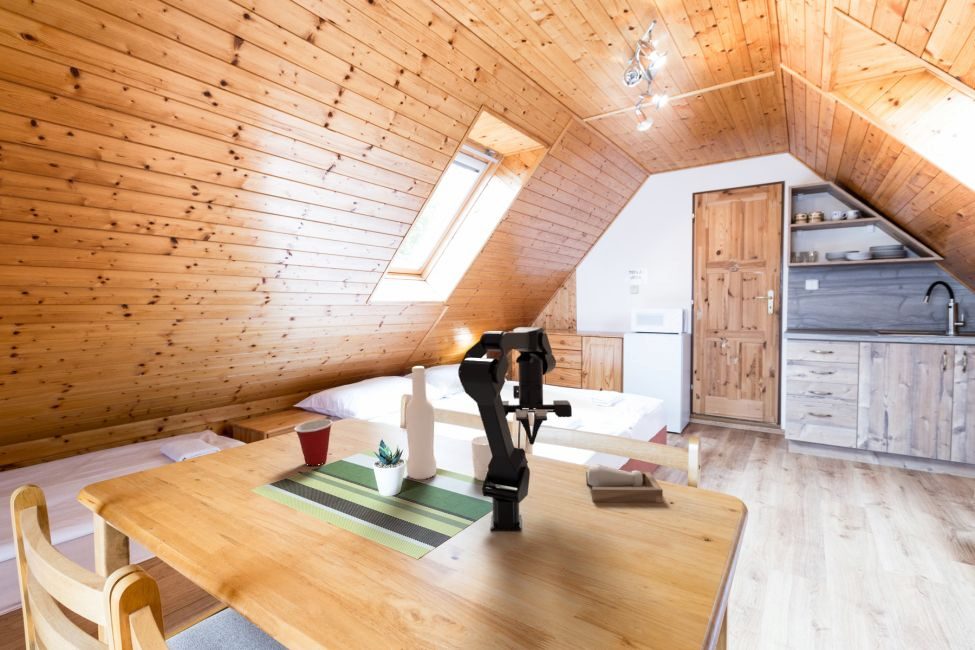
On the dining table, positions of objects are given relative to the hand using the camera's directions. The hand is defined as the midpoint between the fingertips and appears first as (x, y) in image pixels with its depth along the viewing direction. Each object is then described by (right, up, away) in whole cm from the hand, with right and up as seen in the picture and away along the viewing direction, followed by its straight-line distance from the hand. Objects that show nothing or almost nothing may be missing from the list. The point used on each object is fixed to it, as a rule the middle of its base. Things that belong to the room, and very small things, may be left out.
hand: (531, 444), depth 117 cm
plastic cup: (-62, -13, +28) cm, 69 cm away
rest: (+22, -12, +2) cm, 25 cm away
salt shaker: (+14, -9, +4) cm, 17 cm away
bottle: (-29, -13, +17) cm, 36 cm away
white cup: (-11, -13, +15) cm, 22 cm away
